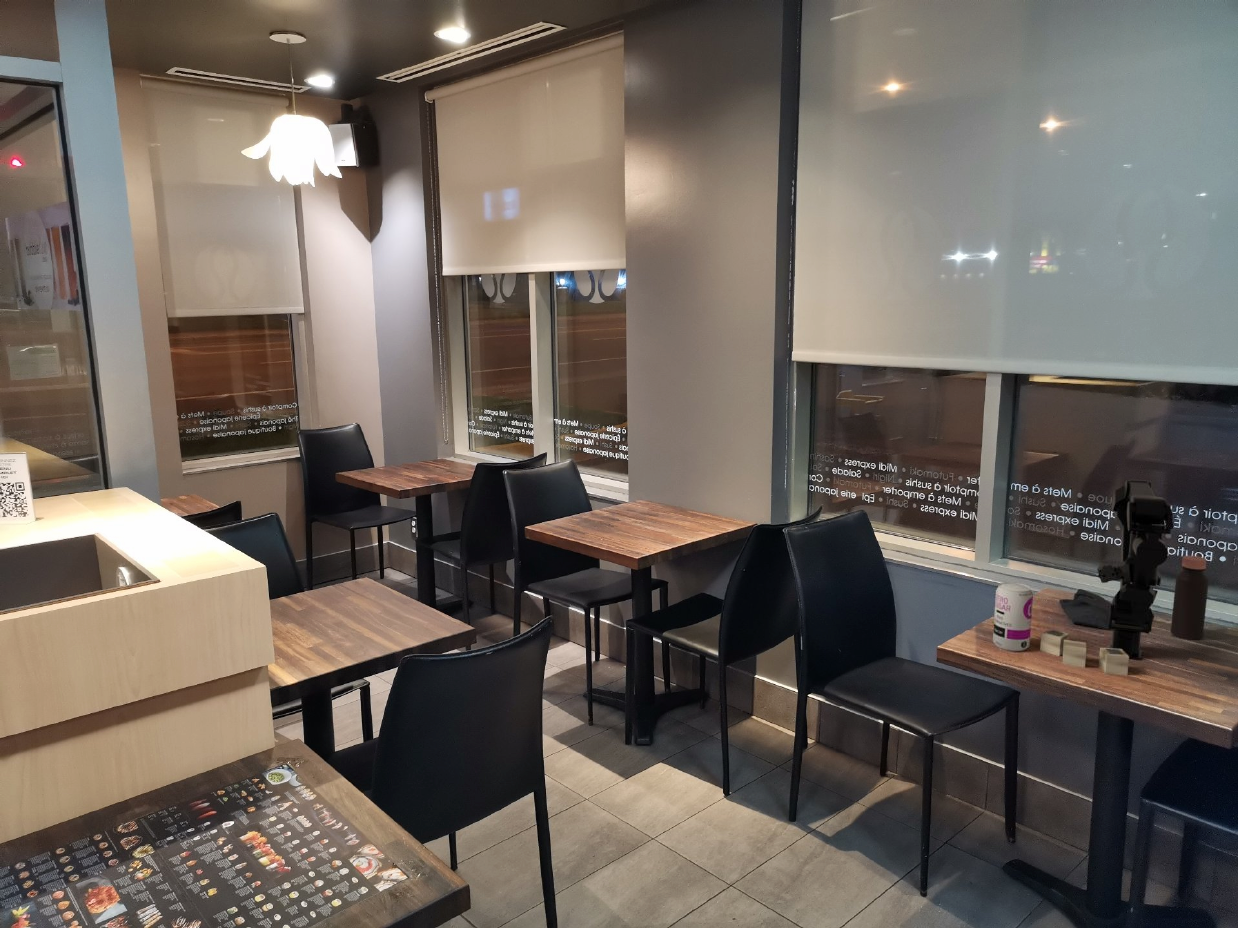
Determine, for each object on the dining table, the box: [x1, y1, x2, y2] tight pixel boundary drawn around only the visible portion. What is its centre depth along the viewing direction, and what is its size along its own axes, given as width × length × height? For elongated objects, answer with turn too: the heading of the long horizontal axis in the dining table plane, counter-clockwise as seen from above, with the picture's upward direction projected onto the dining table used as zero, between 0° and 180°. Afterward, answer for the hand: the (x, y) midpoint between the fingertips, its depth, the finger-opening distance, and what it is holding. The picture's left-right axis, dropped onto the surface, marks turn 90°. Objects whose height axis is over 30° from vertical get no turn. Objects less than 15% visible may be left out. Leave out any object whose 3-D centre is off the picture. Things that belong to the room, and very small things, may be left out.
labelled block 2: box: [1098, 647, 1130, 676], centre depth 195 cm, size 4×4×5 cm
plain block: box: [1062, 639, 1087, 669], centre depth 200 cm, size 4×4×4 cm
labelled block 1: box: [1039, 628, 1070, 657], centre depth 207 cm, size 4×4×5 cm
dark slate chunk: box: [1059, 588, 1114, 631], centre depth 231 cm, size 15×22×5 cm
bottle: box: [1170, 555, 1210, 640], centre depth 215 cm, size 7×7×20 cm
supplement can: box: [992, 582, 1034, 652], centre depth 210 cm, size 8×8×15 cm
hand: (1137, 622), depth 190 cm, fingers closed
